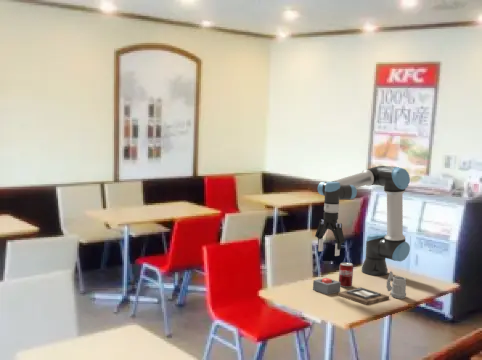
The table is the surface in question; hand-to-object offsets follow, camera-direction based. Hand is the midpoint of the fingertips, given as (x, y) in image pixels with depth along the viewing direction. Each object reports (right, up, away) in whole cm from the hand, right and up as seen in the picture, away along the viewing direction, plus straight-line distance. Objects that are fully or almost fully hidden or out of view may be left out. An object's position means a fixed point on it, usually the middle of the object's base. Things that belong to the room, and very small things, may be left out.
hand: (328, 253), depth 306 cm
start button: (-1, -19, +2) cm, 19 cm away
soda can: (+11, -20, +13) cm, 26 cm away
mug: (+34, -22, -1) cm, 41 cm away
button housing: (-1, -20, +2) cm, 20 cm away
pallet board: (+17, -22, -7) cm, 28 cm away
